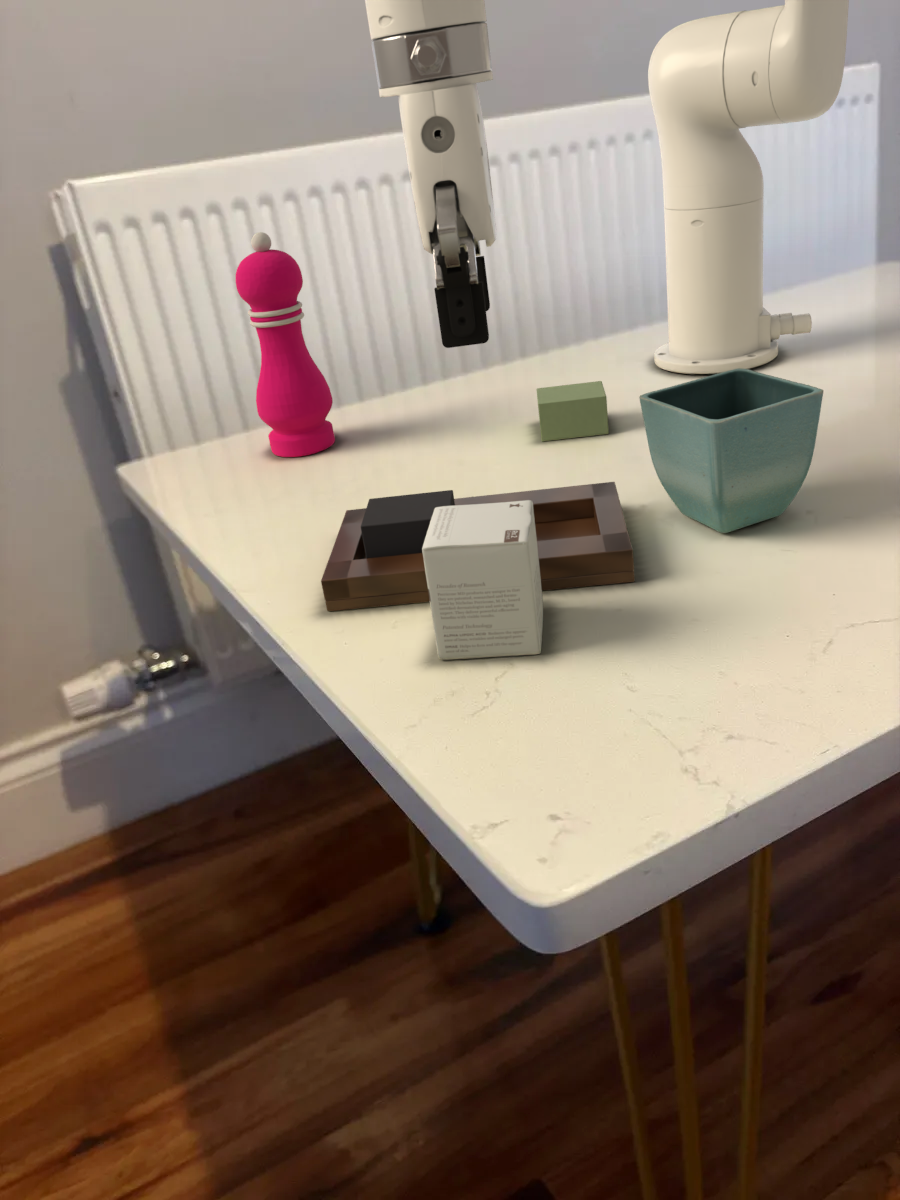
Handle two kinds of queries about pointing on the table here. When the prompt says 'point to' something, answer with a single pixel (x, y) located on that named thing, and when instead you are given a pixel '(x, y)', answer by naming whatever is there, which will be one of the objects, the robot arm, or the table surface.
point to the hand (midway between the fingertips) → (468, 327)
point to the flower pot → (732, 444)
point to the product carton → (484, 580)
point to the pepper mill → (284, 354)
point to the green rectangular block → (572, 411)
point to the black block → (400, 522)
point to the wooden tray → (564, 539)
